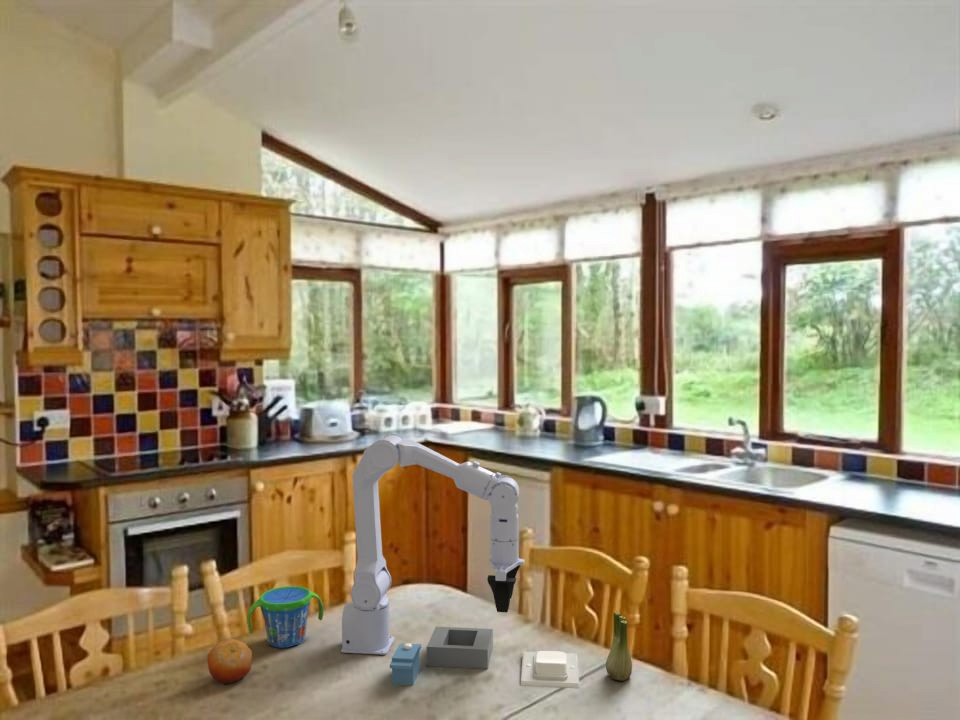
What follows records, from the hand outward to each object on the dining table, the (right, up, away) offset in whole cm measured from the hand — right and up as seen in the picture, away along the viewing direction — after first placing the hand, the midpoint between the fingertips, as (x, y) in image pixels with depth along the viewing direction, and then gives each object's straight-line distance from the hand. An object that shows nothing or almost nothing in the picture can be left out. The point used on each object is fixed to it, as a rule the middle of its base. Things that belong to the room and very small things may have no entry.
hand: (504, 604), depth 150 cm
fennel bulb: (+21, -11, -10) cm, 26 cm away
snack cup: (-46, -10, +6) cm, 47 cm away
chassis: (-9, -10, -1) cm, 13 cm away
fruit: (-52, -11, -10) cm, 54 cm away
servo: (-19, -11, -10) cm, 24 cm away
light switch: (+8, -11, -7) cm, 16 cm away
